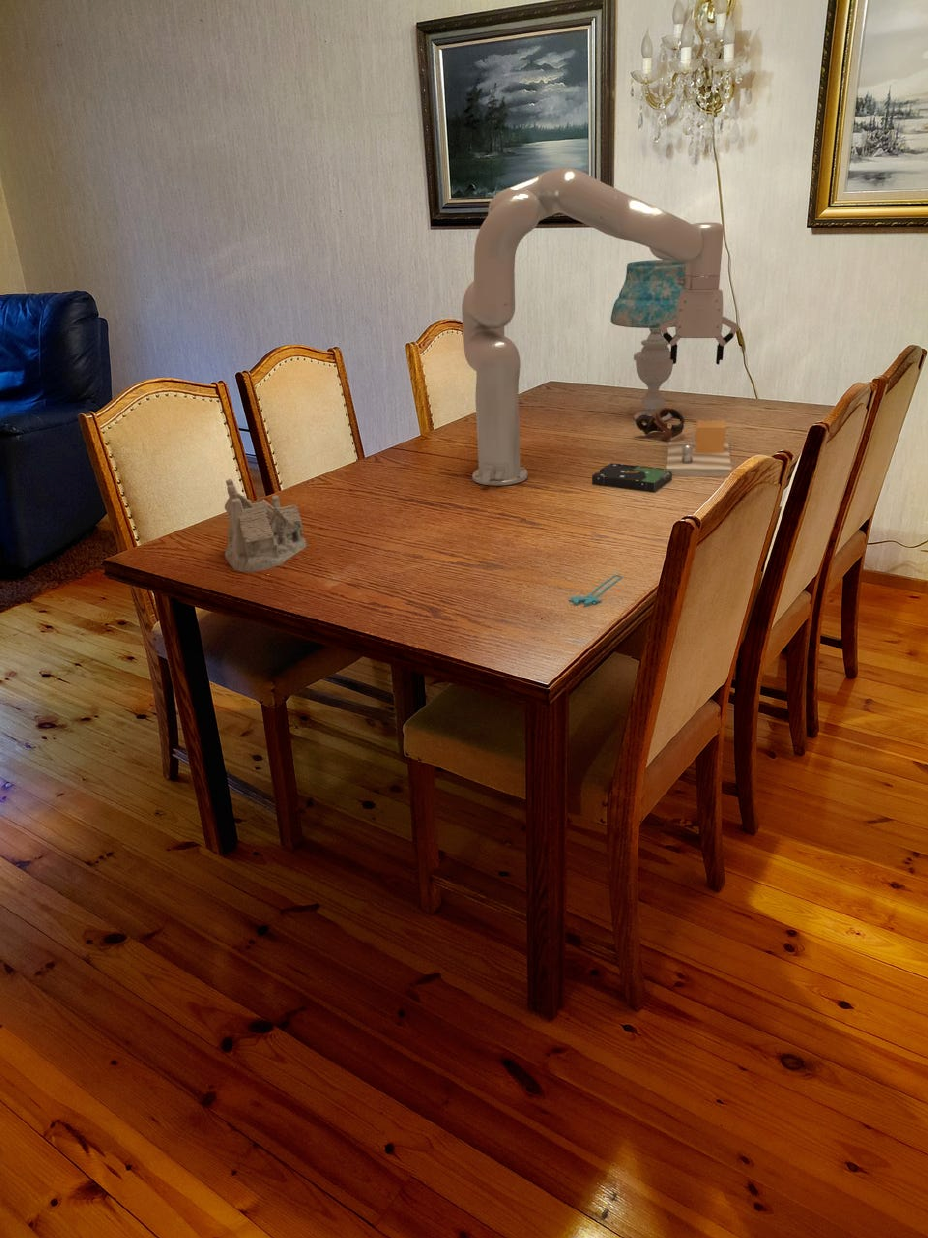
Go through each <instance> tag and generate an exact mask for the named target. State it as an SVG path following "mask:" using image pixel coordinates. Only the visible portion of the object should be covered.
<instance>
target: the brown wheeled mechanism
mask: <svg viewBox="0 0 928 1238" xmlns="http://www.w3.org/2000/svg"><path fill="white" fill-rule="evenodd" d="M668 413H669V414H670V415H671V418H672V419H676V420H679V422H680V423H679V424H671V427H668V424H669V423H668V422H666V421H664V420H663V419H662V417H665V416H666V415H668ZM642 421H645V422H644V423H645V425H644V424H643V422H642ZM635 424H636V426H637V429H638V430H640V431H642V433H644V435H645V436H648V435H649V434H650V433H652V432H659V433H664V434H663V436H661V437H662V438H661V439H662V441H663V442H668V441H670V440H671V439H672V438H675V437H677V436H679V435H681V434H682V433H683V431H684V429H685V425H684V424H685V417H684V416H683V415H682V413H681V412H680V411H677V409H673V408H670V407H664V408H661V409H659V410H658V412H656V413H654V414H653V415H651V416H649V415H646V414H642V415H640V416H639V417H638V418H637V419H635Z"/></svg>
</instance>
